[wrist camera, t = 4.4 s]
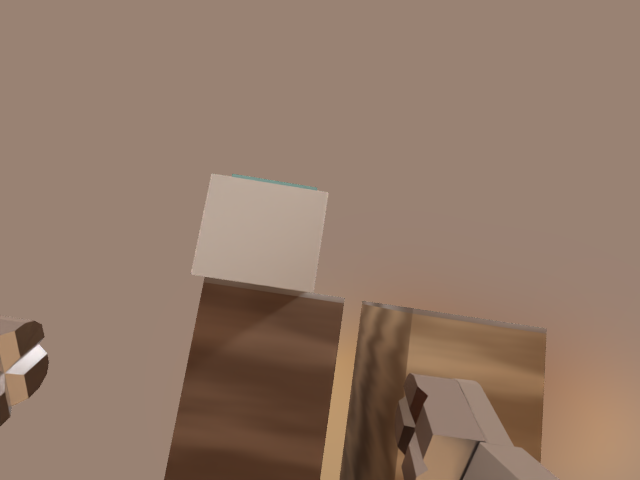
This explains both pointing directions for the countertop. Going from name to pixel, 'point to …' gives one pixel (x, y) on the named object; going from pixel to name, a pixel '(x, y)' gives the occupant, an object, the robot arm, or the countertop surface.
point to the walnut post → (256, 384)
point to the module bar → (261, 232)
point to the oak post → (442, 361)
